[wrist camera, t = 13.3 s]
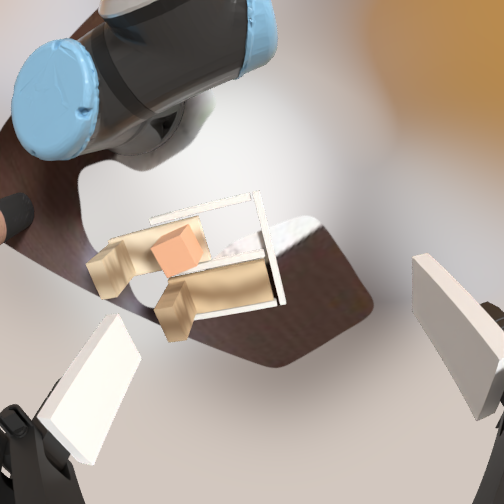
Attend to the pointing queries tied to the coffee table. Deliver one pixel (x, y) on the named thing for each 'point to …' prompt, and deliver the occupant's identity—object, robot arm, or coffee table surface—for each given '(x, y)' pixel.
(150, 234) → the wooden slider
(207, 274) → the wooden l-shaped block
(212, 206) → the lane rails
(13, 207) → the travel mug
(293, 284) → the coffee table surface
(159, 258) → the cube
